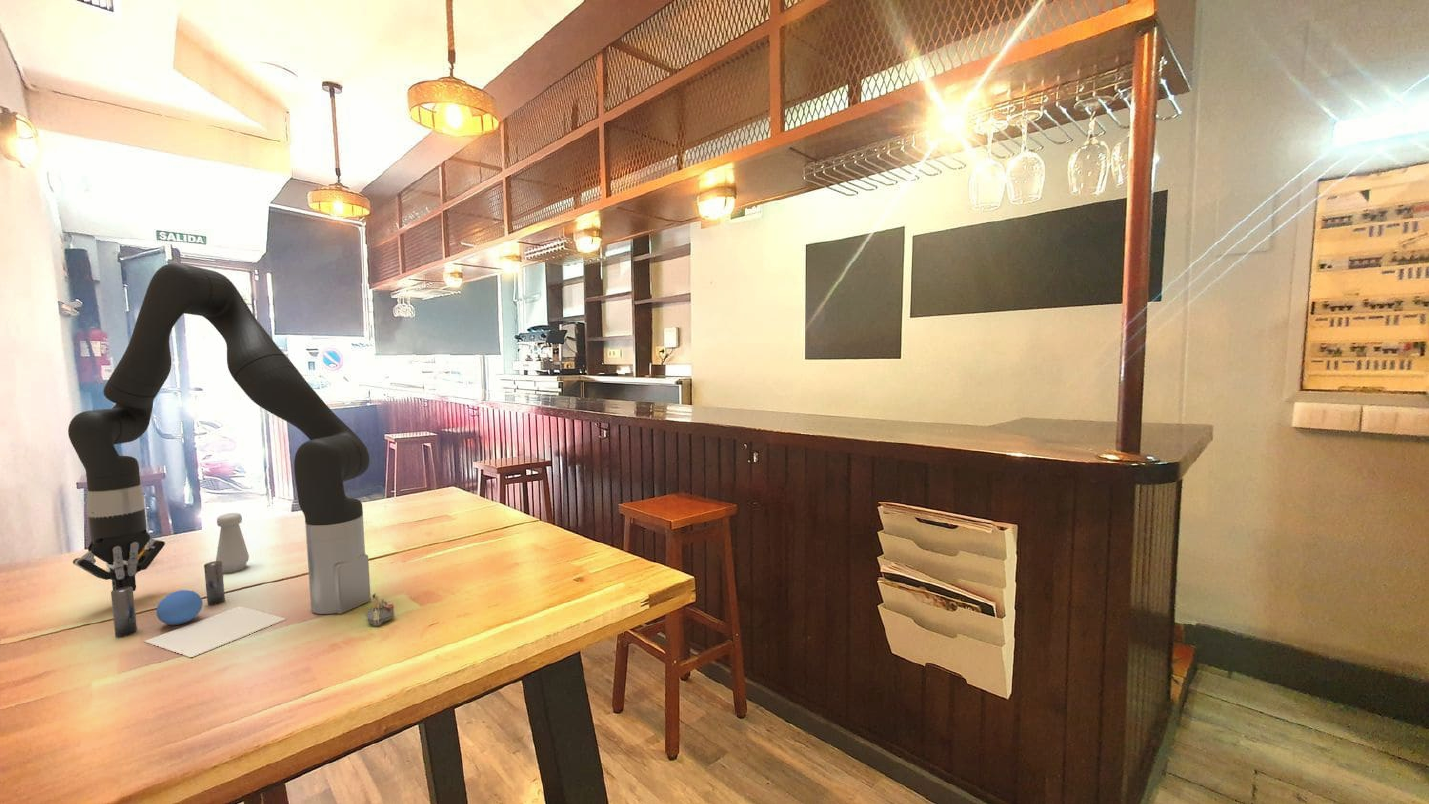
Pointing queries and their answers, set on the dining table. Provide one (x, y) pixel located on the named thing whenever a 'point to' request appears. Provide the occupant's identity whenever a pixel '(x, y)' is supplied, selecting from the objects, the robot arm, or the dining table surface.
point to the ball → (179, 607)
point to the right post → (214, 582)
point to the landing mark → (214, 631)
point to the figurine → (380, 612)
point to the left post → (123, 611)
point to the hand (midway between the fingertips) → (125, 595)
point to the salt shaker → (231, 543)
